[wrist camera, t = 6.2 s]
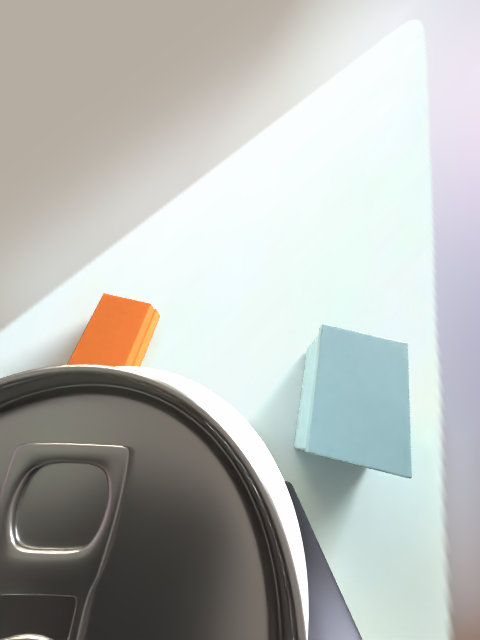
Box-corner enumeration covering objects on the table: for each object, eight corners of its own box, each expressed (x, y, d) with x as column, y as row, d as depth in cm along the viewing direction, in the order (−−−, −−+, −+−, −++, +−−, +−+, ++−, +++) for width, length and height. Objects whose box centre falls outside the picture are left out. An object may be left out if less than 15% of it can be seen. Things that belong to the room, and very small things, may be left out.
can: (107, 570, 12) (-1109, 1789, 1) (135, 415, 15) (-135, 325, 4) (254, 573, 12) (469, 1716, 1) (255, 418, 15) (320, 340, 4)
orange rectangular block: (125, 405, 16) (112, 400, 14) (72, 392, 16) (53, 386, 14) (160, 315, 18) (153, 302, 17) (114, 305, 19) (102, 291, 17)
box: (371, 471, 15) (412, 479, 12) (290, 450, 15) (307, 452, 12) (374, 362, 17) (408, 342, 14) (304, 346, 18) (322, 323, 14)
